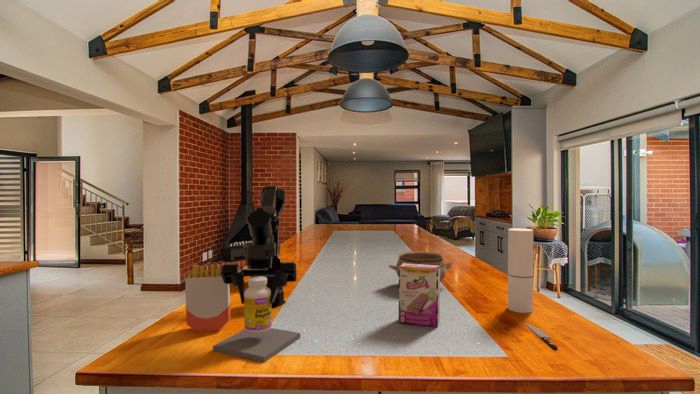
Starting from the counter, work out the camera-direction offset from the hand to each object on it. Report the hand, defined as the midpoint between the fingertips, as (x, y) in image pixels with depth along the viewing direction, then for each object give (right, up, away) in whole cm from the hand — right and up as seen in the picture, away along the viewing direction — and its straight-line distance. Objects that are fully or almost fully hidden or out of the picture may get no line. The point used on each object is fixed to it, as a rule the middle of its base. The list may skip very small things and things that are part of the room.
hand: (257, 302), depth 94 cm
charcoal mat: (0, -11, +1) cm, 11 cm away
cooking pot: (+50, -9, +53) cm, 74 cm away
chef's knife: (+73, -10, +6) cm, 74 cm away
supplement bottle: (0, -7, +2) cm, 7 cm away
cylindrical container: (+76, -9, +26) cm, 81 cm away
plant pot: (-13, -9, +61) cm, 63 cm away
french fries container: (-16, -11, +12) cm, 23 cm away
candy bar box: (+42, -10, +15) cm, 46 cm away
